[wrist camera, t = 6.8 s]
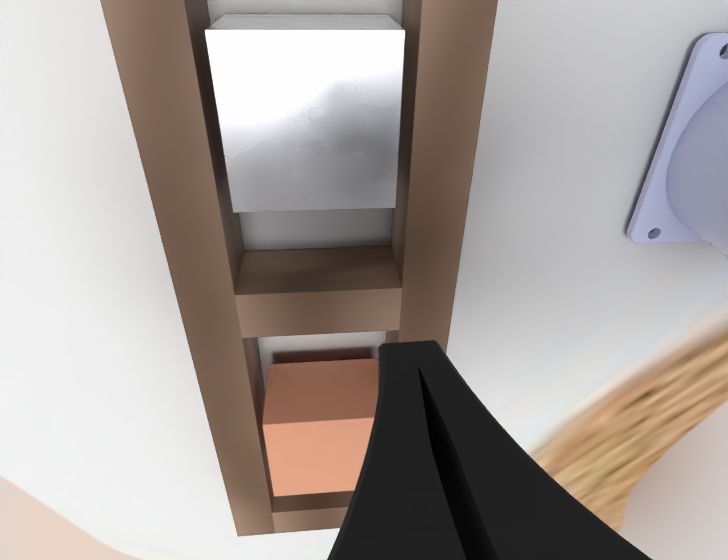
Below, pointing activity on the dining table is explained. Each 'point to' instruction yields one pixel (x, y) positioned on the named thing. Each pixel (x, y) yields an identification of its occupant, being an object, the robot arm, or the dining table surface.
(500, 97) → the dining table surface
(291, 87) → the silver metal block
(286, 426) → the salmon pink cube
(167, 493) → the dining table surface
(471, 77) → the brown ladder-shaped frame
